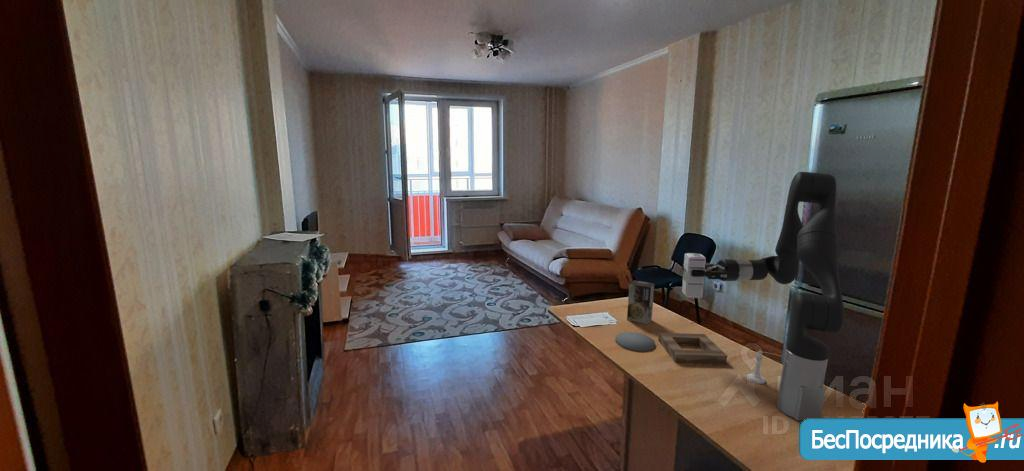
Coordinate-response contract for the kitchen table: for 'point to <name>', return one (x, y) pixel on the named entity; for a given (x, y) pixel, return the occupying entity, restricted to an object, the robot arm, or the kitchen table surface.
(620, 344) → the slate mat
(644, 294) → the coffee box
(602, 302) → the kitchen table surface
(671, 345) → the walnut holder
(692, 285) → the syrup box
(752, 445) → the kitchen table surface
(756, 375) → the chess piece
